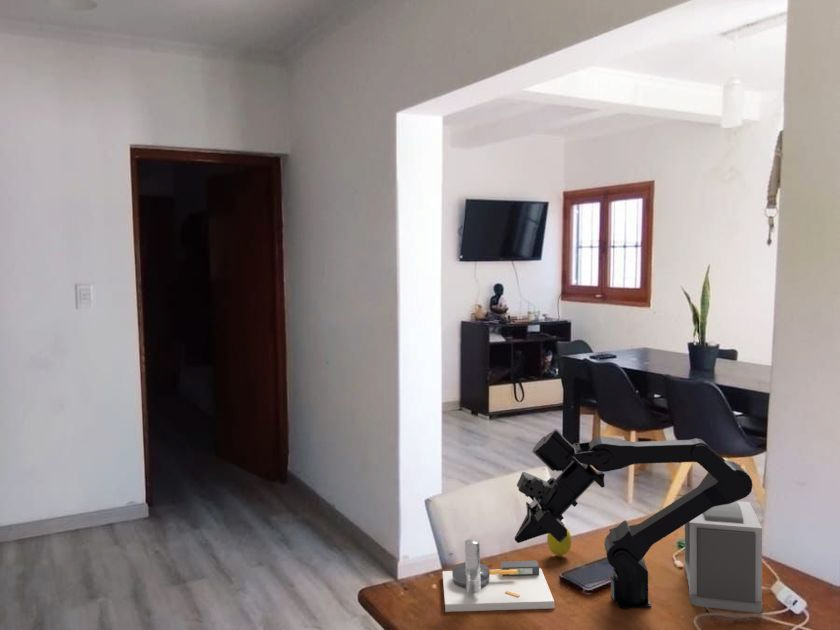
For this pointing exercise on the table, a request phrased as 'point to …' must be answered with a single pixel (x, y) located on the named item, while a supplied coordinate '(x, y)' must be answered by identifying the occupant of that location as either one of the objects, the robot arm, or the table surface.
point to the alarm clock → (725, 558)
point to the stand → (502, 590)
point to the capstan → (474, 569)
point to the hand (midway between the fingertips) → (516, 540)
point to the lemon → (559, 544)
